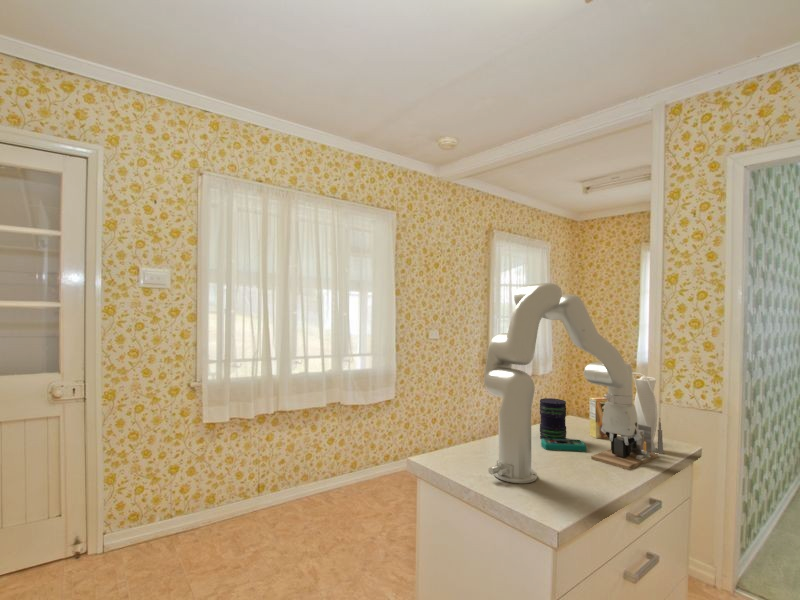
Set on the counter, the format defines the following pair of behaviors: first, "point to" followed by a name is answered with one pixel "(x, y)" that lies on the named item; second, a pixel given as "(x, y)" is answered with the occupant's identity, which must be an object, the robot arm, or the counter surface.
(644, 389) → the skyscraper
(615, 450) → the plunger
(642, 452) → the needle
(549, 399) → the storage jar
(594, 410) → the candy box
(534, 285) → the robot arm
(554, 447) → the digital multimeter
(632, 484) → the counter surface
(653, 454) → the base
